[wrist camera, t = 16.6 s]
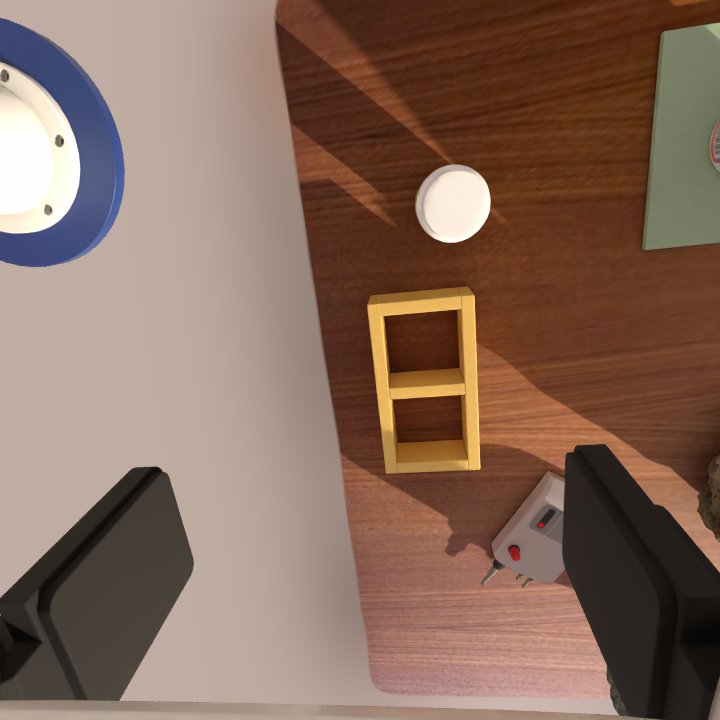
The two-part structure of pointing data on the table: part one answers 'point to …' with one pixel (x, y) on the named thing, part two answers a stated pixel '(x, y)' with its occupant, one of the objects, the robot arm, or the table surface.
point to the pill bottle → (715, 146)
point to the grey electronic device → (534, 535)
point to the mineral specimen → (711, 499)
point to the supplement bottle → (452, 203)
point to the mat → (684, 141)
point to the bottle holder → (427, 382)
